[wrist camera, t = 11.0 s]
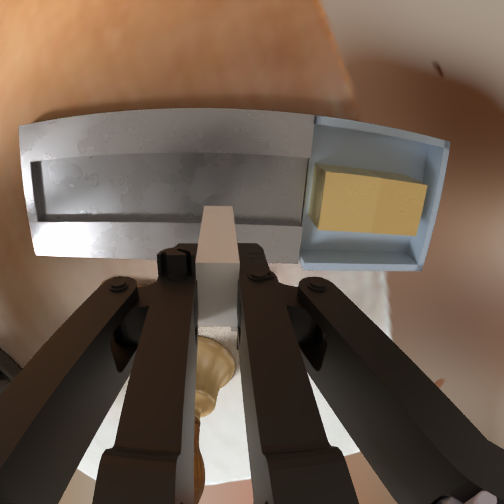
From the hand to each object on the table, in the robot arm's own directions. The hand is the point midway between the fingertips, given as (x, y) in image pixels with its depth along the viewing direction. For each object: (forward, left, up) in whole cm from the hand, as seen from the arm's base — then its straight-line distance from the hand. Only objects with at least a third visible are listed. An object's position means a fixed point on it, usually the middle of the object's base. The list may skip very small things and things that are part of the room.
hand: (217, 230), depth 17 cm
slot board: (-5, +1, -7) cm, 9 cm away
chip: (+12, +1, -6) cm, 14 cm away
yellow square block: (+8, +1, -6) cm, 11 cm away
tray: (+11, +1, -7) cm, 13 cm away
